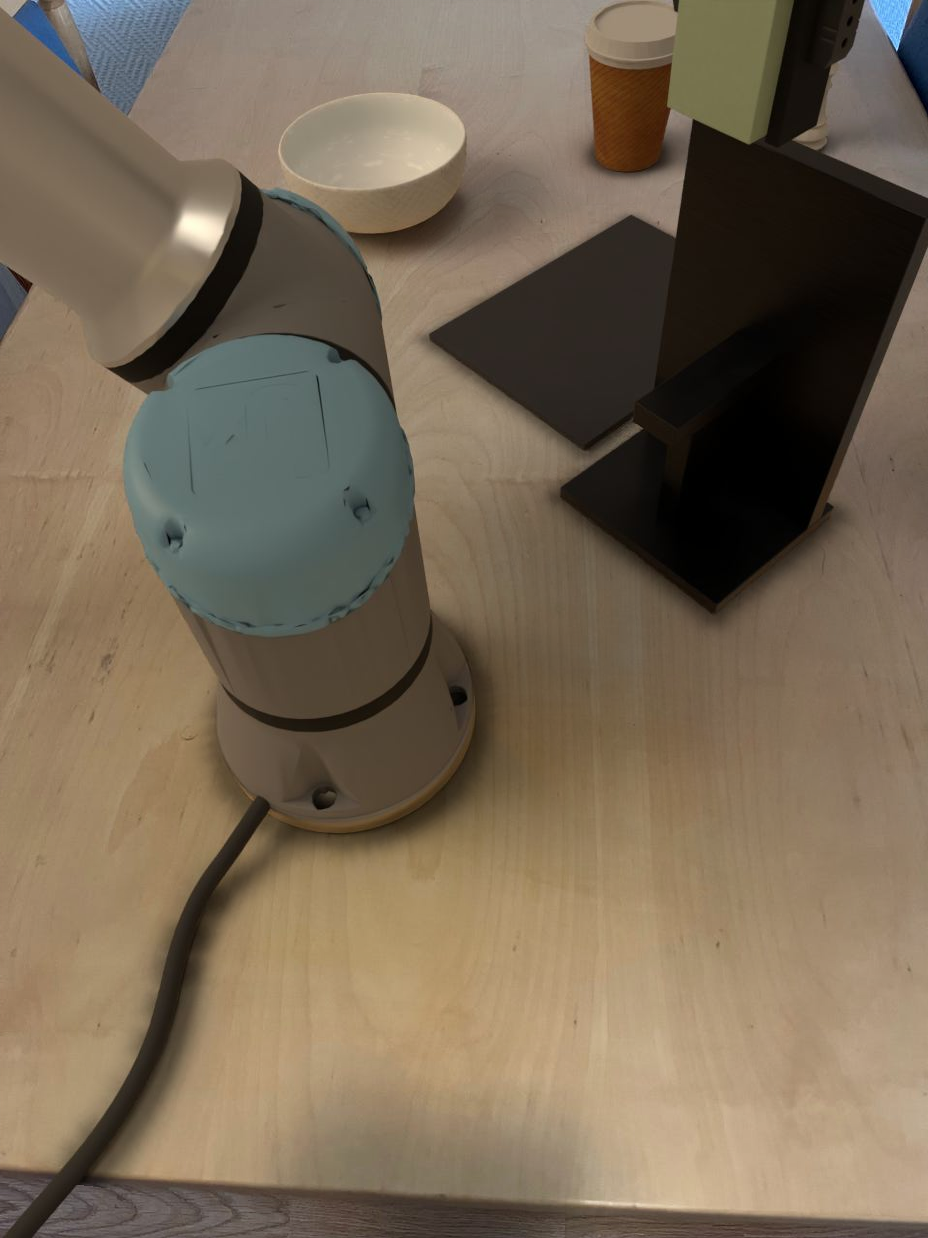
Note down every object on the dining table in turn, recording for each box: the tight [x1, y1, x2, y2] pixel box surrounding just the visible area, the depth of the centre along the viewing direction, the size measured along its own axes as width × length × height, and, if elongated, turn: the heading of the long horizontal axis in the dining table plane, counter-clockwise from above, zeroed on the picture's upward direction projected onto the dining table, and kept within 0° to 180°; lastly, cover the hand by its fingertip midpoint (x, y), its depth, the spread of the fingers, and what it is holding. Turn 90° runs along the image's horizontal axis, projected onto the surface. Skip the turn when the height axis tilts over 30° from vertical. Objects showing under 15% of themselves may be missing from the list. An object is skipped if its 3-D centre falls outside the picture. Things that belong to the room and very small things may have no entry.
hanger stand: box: [559, 119, 928, 615], centre depth 53 cm, size 12×14×23 cm
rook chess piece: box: [792, 62, 840, 151], centre depth 85 cm, size 4×4×8 cm
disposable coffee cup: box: [583, 0, 678, 172], centre depth 84 cm, size 10×10×12 cm
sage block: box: [667, 0, 794, 144], centre depth 39 cm, size 5×5×8 cm
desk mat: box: [428, 214, 676, 451], centre depth 74 cm, size 24×18×1 cm
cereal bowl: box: [277, 91, 468, 235], centre depth 83 cm, size 17×17×7 cm
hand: (742, 110), depth 43 cm, fingers closed on sage block, 5 cm apart
